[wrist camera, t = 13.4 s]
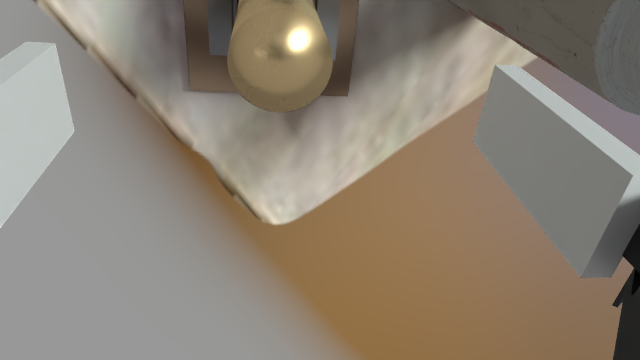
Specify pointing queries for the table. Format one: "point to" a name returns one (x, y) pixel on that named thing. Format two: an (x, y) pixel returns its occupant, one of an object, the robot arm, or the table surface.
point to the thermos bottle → (575, 40)
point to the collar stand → (216, 29)
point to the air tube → (279, 54)
